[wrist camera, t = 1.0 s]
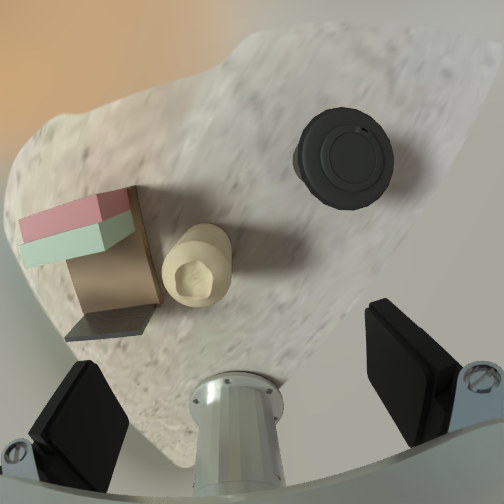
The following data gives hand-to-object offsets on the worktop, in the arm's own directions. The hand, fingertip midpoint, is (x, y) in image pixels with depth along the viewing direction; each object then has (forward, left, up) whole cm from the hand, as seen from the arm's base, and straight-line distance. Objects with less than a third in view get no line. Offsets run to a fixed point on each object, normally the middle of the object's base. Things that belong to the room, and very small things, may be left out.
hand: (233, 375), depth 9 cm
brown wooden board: (+1, +14, -23) cm, 27 cm away
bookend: (-6, +14, -21) cm, 26 cm away
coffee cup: (+6, -10, -23) cm, 26 cm away
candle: (-1, +3, -23) cm, 23 cm away
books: (+5, +14, -21) cm, 26 cm away
